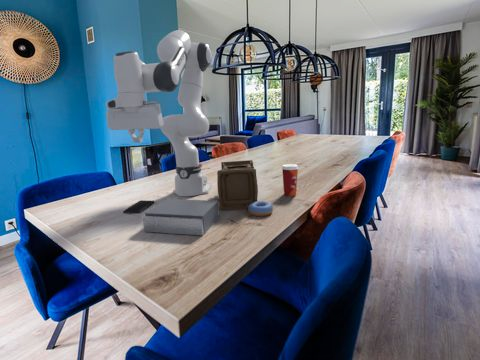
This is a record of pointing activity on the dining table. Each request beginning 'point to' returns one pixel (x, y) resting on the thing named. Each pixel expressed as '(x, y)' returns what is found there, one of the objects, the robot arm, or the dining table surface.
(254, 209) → the doughnut
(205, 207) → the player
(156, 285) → the dining table surface
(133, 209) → the phone
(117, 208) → the dining table surface
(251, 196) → the ornamental box
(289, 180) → the paper cup
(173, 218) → the tray
